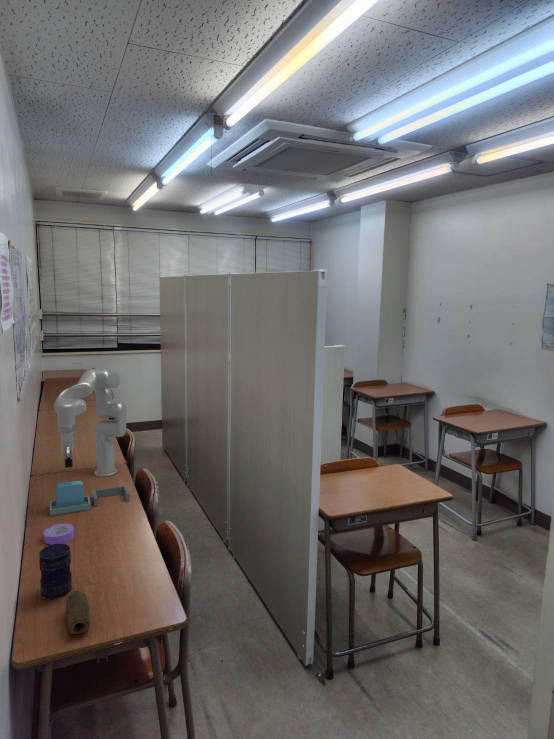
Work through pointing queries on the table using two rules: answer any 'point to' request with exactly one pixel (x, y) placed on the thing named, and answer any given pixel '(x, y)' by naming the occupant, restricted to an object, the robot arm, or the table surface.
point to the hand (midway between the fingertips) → (68, 463)
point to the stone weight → (77, 612)
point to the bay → (110, 493)
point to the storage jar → (55, 571)
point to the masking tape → (59, 534)
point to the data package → (69, 494)
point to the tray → (71, 509)
